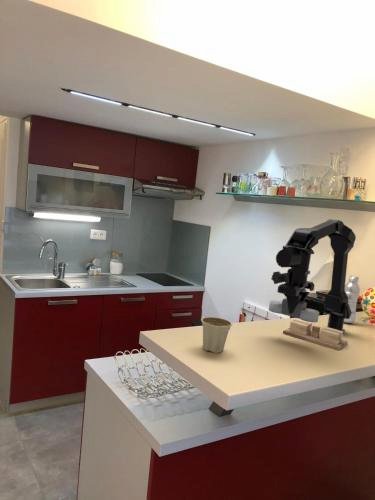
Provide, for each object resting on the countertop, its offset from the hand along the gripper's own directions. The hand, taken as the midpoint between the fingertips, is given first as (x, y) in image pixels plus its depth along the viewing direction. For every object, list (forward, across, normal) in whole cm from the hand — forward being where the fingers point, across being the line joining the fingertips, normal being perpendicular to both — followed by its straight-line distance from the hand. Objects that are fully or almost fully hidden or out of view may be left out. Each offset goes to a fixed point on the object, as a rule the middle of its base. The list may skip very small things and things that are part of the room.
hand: (293, 312), depth 138 cm
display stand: (+10, -12, +5) cm, 17 cm away
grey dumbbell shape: (+1, 0, 0) cm, 1 cm away
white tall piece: (+10, -48, +7) cm, 50 cm away
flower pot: (+11, +28, -13) cm, 33 cm away
